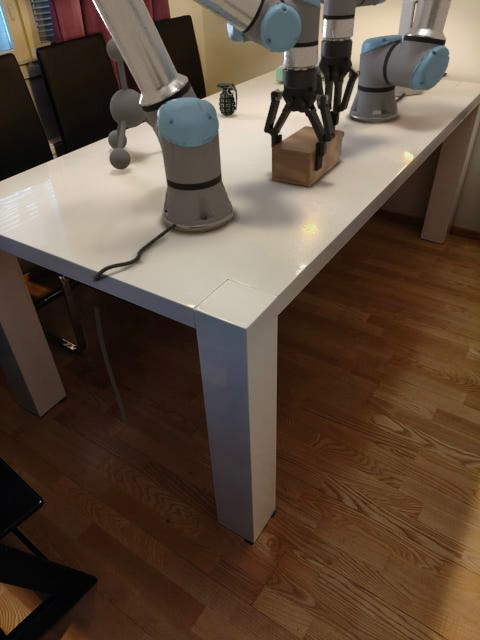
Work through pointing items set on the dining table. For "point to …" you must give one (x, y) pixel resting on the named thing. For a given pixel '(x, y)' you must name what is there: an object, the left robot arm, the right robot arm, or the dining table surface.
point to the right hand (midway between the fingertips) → (330, 137)
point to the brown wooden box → (303, 157)
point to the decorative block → (280, 70)
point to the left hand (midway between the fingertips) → (297, 165)
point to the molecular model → (123, 113)
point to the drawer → (341, 141)
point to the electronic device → (404, 27)
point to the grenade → (227, 99)
